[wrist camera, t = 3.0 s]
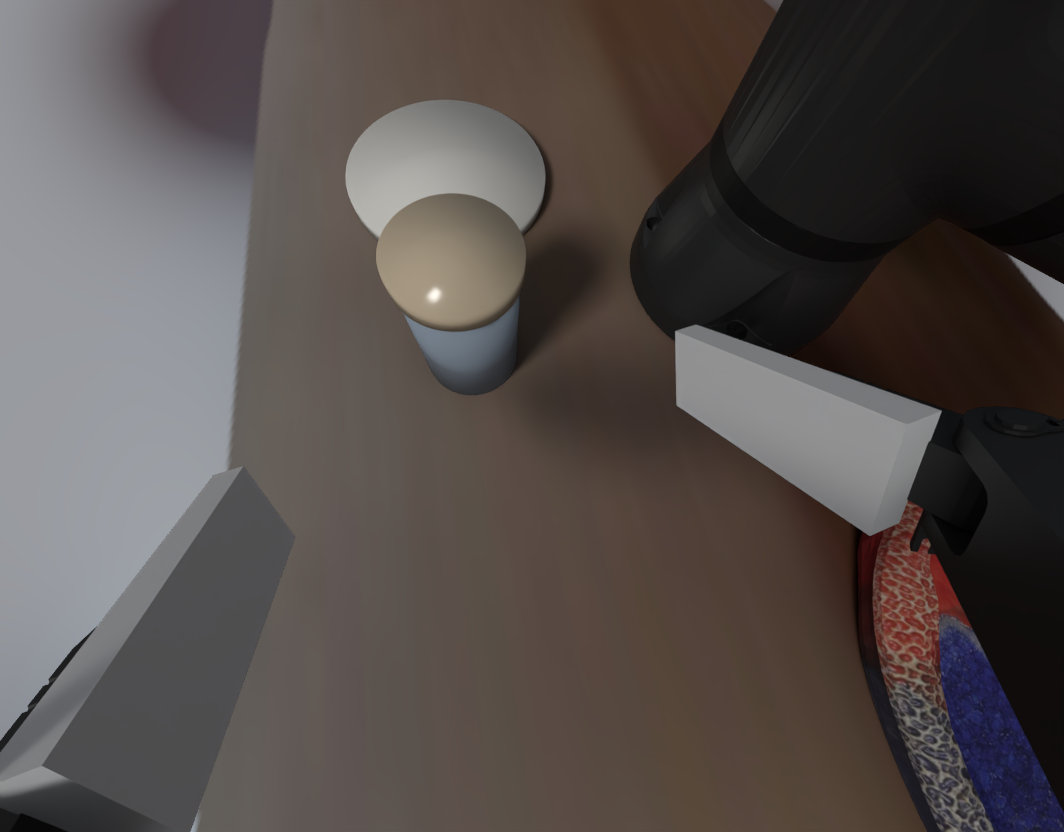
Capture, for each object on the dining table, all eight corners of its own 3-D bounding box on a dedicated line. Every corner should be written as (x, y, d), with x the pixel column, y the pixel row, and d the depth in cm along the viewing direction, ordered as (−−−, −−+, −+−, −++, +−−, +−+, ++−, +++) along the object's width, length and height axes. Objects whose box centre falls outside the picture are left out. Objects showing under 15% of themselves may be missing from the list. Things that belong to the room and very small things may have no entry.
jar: (492, 298, 27) (484, 174, 18) (536, 371, 26) (552, 280, 16) (409, 335, 26) (352, 224, 17) (450, 414, 25) (414, 342, 15)
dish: (1061, 1222, 16) (1287, 1506, 12) (758, 513, 24) (819, 509, 20) (1311, 1056, 19) (1590, 1238, 14) (957, 451, 26) (1056, 433, 22)
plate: (490, 92, 33) (489, 79, 32) (579, 218, 30) (581, 208, 29) (321, 147, 30) (315, 135, 29) (399, 293, 27) (395, 285, 26)
